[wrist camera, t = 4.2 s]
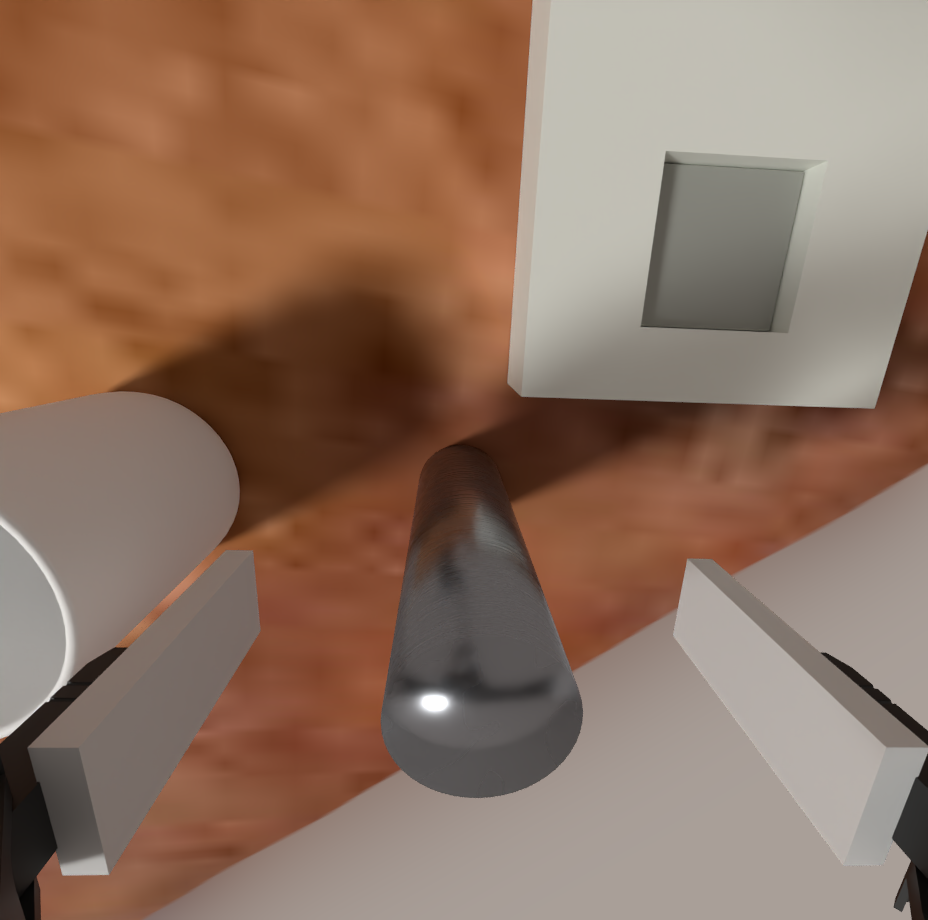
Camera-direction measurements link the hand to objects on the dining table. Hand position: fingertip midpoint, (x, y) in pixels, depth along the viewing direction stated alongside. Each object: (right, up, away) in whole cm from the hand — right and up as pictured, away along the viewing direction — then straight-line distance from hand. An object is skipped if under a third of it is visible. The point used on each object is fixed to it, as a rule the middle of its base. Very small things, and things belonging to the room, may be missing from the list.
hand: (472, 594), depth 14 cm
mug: (-16, +2, +8) cm, 19 cm away
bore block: (+9, +18, +4) cm, 21 cm away
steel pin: (0, +3, +9) cm, 9 cm away
